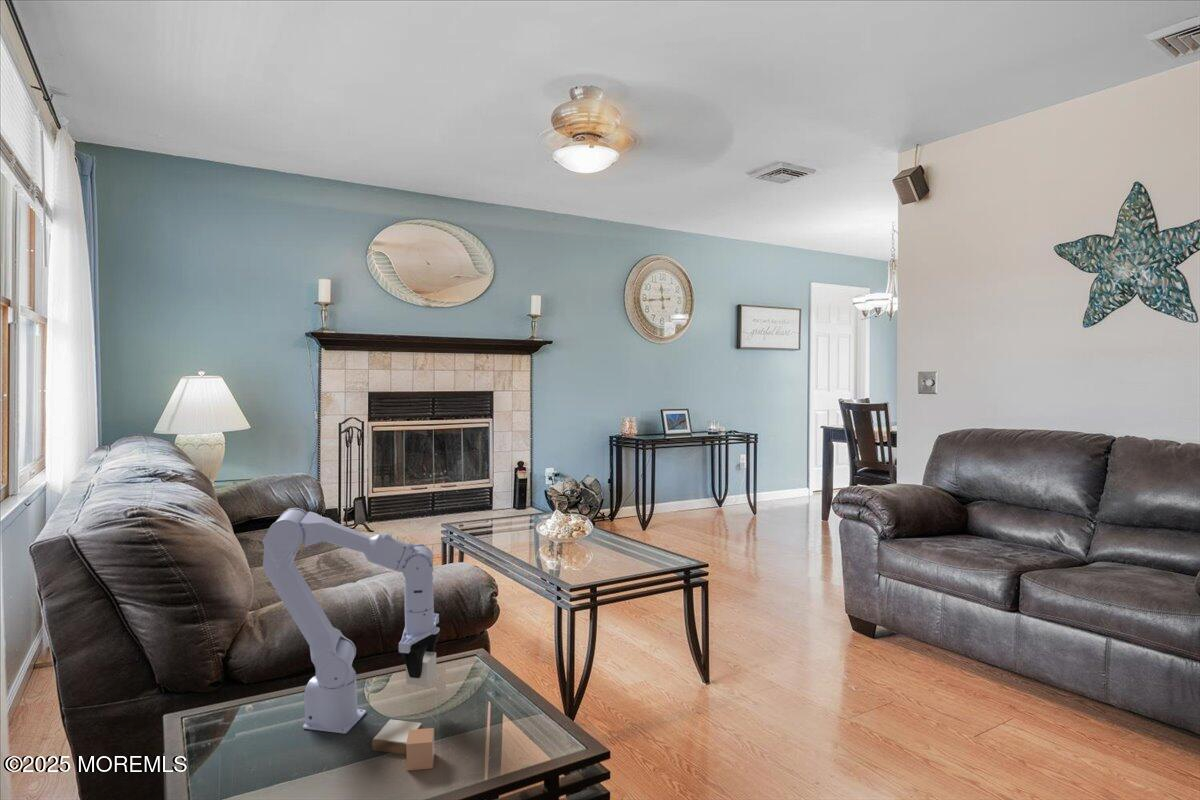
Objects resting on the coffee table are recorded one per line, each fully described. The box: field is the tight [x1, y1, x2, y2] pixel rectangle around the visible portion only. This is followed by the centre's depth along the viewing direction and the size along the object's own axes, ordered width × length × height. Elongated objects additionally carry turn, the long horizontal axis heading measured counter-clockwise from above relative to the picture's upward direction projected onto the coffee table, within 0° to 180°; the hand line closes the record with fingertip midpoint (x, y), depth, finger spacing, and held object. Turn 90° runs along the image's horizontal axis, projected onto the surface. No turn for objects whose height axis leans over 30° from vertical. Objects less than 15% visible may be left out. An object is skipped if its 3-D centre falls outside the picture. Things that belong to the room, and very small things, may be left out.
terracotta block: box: [405, 727, 436, 771], centre depth 128 cm, size 4×4×5 cm
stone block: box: [405, 651, 437, 687], centre depth 143 cm, size 4×4×5 cm
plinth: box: [371, 718, 424, 755], centre depth 134 cm, size 7×7×2 cm
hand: (420, 670), depth 143 cm, fingers closed on stone block, 4 cm apart
